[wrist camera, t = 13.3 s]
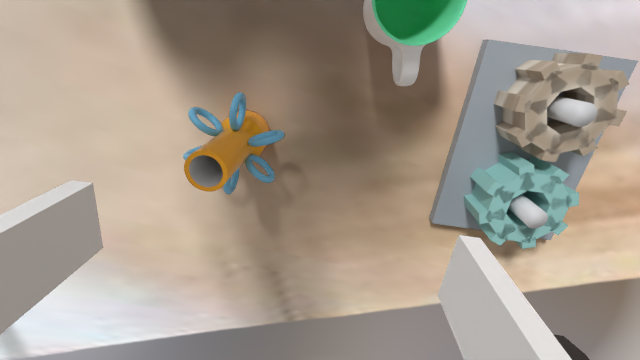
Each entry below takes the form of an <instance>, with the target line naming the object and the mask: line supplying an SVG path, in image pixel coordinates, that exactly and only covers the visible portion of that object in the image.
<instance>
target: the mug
mask: <svg viewBox="0 0 640 360" xmlns="http://www.w3.org/2000/svg"><path fill="white" fill-rule="evenodd" d="M466 3H467V0H364V5H363V18H364V22H365V25H366V28H367V30H368V32H369V33H370V35H371V36H372V37H373V38H374V39H375V40H376V41H378V42H379V43H381V44H383V45H386V46H388V47H390V49H391V50H392V73H393V79H394V82H395V84H396V85H398V86H410V85H412V84H414V83H415V81H416V79H417V76H418V72H419V65H420V56H421V51H422V49H423V47H424V46H425V45H426V44H429V43H431V42H434V41H436V40H438V39H439V38H441V37H442V36H444V35H445V34H446V33H448V32H449V31H450V30H451V29H452V28H453V26H454V25H455V24H456V23H457V21H458V20H459V18H460V17H461V15H462V13H463V11H464V8H465V6H466Z"/></svg>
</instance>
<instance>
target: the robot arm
mask: <svg viewBox="0 0 640 360" xmlns="http://www.w3.org/2000/svg"><path fill="white" fill-rule="evenodd" d="M102 248H103V244H102V237H101V231H100V225H99V219H98V212H97V206H96V200H95V194H94V187H93V183H89V182H82V181H75V180H71V181H68V182H66V183H64V184H62V185H60V186H58V187H56V188H54V189H52V190H50V191H48V192H46V193H44V194H42V195H40V196H38V197H36V198H34V199H32V200H30V201H27V202H25V203H23V204H21V205H19V206H17V207H15V208H13V209H11V210H9V211H7V212H5V213H3V214H1V215H0V334H1V333H2V332H4V331H5V330H6V329H7V328H8V327H10V326H11V325H12V324H13V323H14V322H15V321H17V320H18V319H19V318H20V317H21V316H23V315H24V314H25V313H26V312H27V311H29V310H30V309H31V308H32V307H33V306H34V305H36V304H37V303H38V302H39V301H40V300H42V299H43V298H44V297H45V296H46V295H48V294H49V293H50V292H51V291H52V290H53V289H55V288H56V287H57V286H58V285H59V284H61V283H62V282H63V281H64V280H65V279H67V278H68V277H69V276H70V275H71V274H73V273H74V272H75V271H76V270H77V269H78V268H80V267H81V266H82V265H83V264H84V263H86V262H87V261H88V260H89V259H90V258H92V257H93V256H94V255H95V254H96V253H97V252H99V251H100V250H101V249H102ZM438 297H439V300H440V302H441V305H442V307H443V309H444V312H445V314H446V317H447V319H448V322H449V324H450V326H451V329H452V332H453V334H454V337H455V339H456V341H457V344H458V346H459V349H460V351H461V354H462V356H463V359H464V360H589V359H588V357H587V356H586V355H585V354H584V353H583V352H582V351H580V350H579V349H578V348H577V347H576V346H575V345H574V344H572V343H571V342H570V341H569V340H568V339H566V338H565V337H564V336H559V335H553V334H552V333H551V331H550V330H549V329H548V327H547V326H546V325H545V323H544V322H543V321H542V320H541V318H540V317H539V315H538V314H537V313H536V311H535V310H534V309H533V307H532V306H531V305H530V304H529V302H528V301H527V300H526V298H525V297H524V295H523V294H522V293H521V291H520V290H519V289H518V287H517V286H516V285H515V283H514V282H513V281H512V280H511V278H510V277H509V276H508V274H507V273H506V272H505V270H504V269H503V268H502V266H501V265H500V264H499V262H498V261H497V260H496V258H495V257H494V256H493V254H492V253H491V252H490V250H489V249H488V248H487V246H486V245H485V244H484V242H483V241H482V240H481V238H477V237H469V236H462V235H459V236H458V239H457V242H456V244H455V247H454V250H453V253H452V256H451V259H450V262H449V264H448V267H447V270H446V273H445V276H444V279H443V281H442V284H441V287H440V290H439V293H438Z"/></svg>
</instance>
